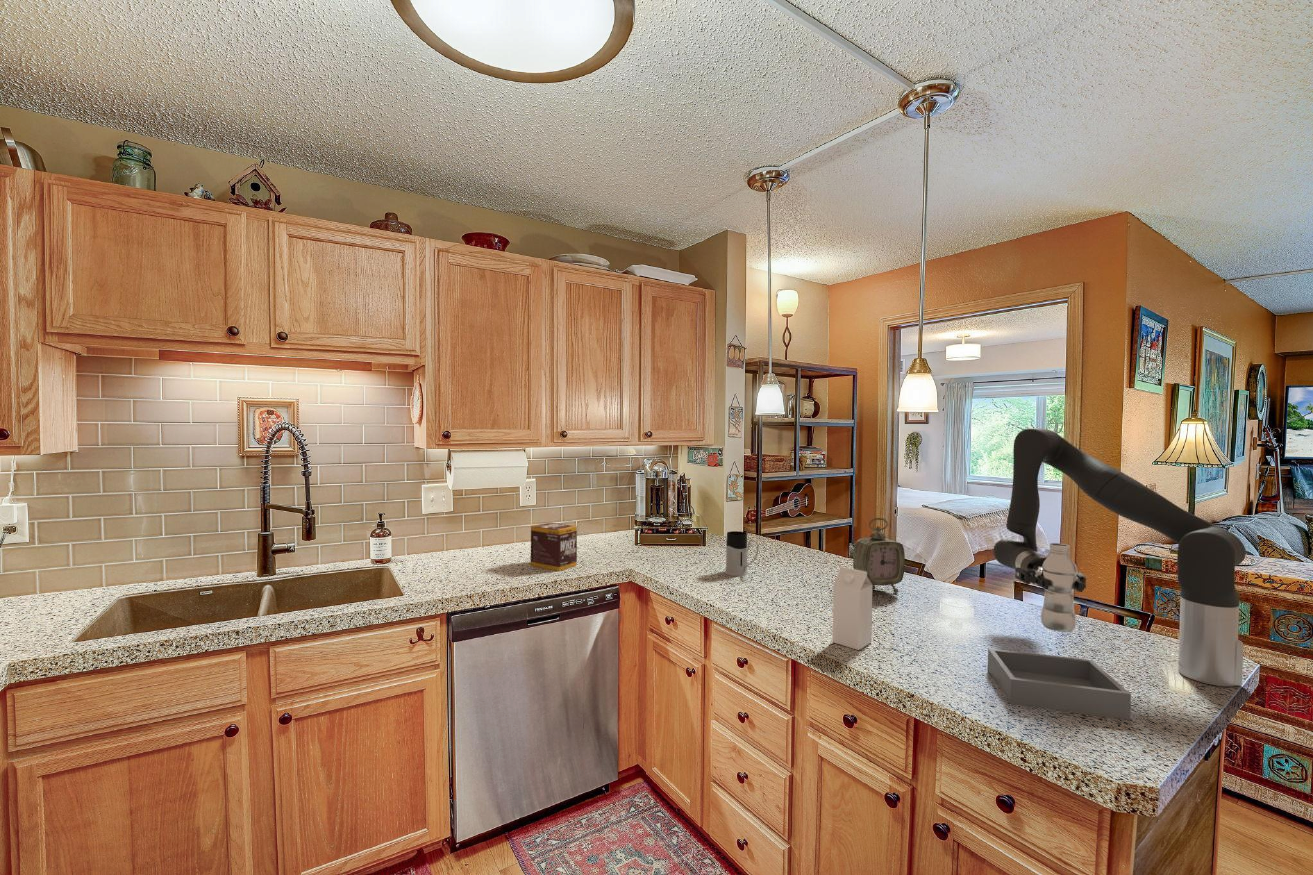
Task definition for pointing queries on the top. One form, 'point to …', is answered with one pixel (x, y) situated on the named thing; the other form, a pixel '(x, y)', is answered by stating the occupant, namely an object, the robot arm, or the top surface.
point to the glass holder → (737, 553)
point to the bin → (1058, 683)
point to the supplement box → (554, 546)
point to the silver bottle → (1059, 589)
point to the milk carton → (852, 608)
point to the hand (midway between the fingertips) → (1063, 586)
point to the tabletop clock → (880, 558)
